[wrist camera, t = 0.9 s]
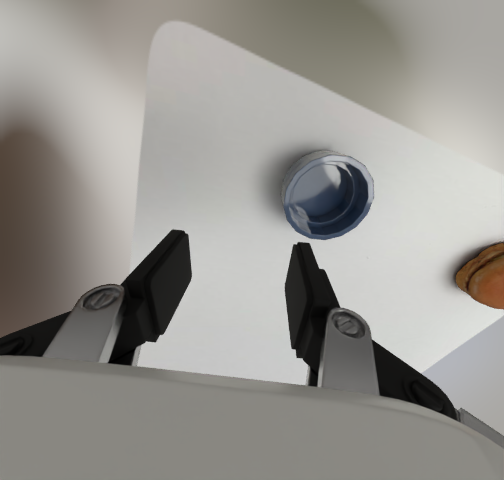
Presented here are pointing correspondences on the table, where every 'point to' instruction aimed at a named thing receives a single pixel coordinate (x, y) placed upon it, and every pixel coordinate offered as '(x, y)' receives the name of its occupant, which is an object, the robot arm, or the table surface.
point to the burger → (485, 277)
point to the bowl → (326, 194)
